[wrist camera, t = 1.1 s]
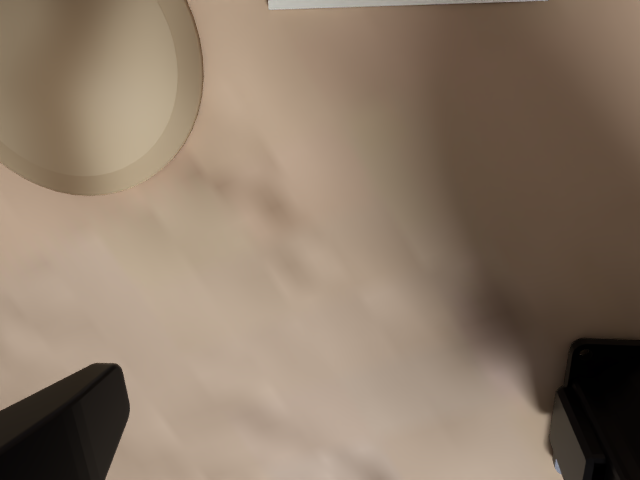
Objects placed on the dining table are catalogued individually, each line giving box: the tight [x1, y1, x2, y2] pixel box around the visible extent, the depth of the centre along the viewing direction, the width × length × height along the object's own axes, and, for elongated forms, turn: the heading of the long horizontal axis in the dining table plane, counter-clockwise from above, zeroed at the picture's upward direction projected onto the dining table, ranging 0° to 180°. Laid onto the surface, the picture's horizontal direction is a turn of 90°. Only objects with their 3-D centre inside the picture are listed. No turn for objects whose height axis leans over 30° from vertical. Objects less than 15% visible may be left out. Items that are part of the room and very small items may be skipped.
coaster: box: [0, 0, 204, 196], centre depth 21 cm, size 10×10×1 cm
